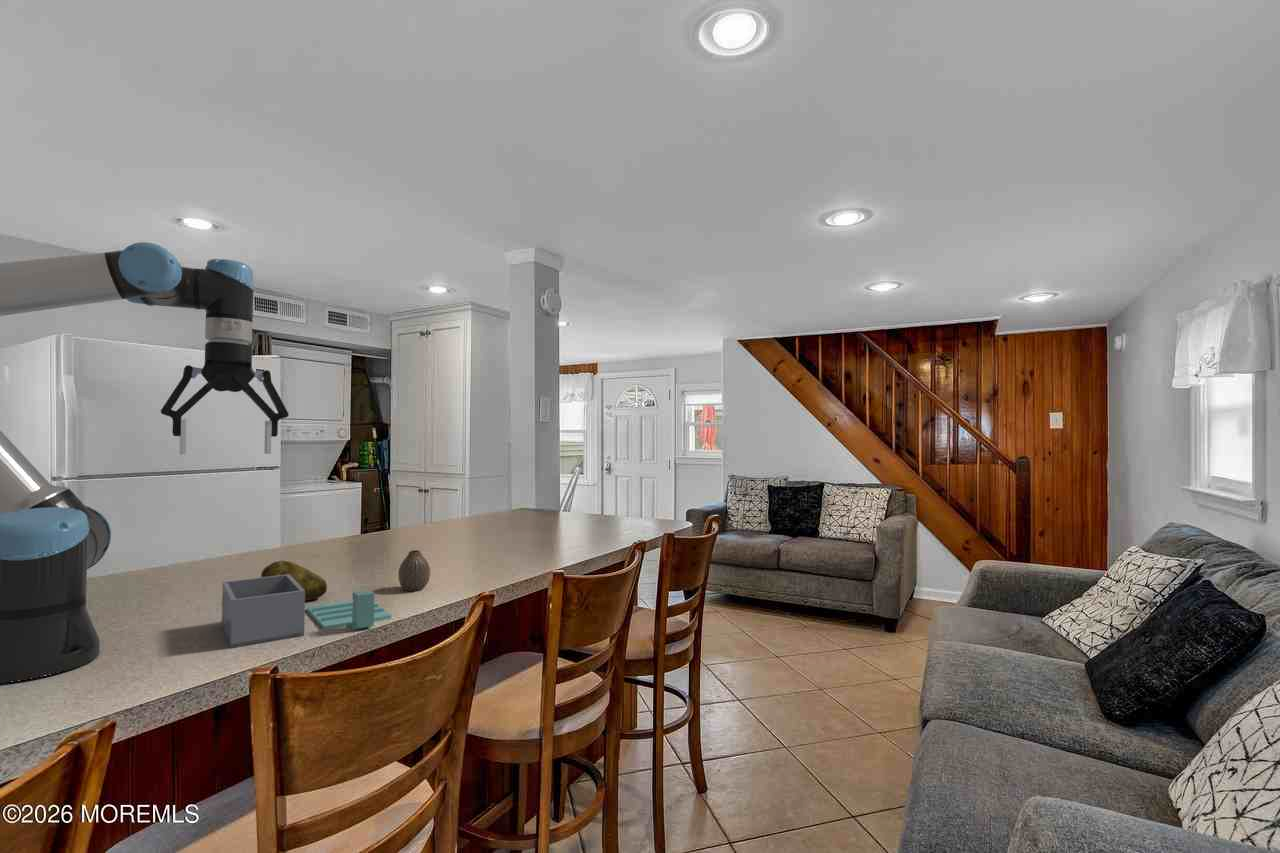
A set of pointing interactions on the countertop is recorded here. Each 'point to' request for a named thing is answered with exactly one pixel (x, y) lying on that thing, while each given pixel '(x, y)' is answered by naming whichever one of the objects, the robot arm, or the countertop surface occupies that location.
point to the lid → (350, 612)
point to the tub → (262, 610)
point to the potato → (298, 577)
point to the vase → (414, 572)
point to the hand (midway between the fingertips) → (226, 454)
